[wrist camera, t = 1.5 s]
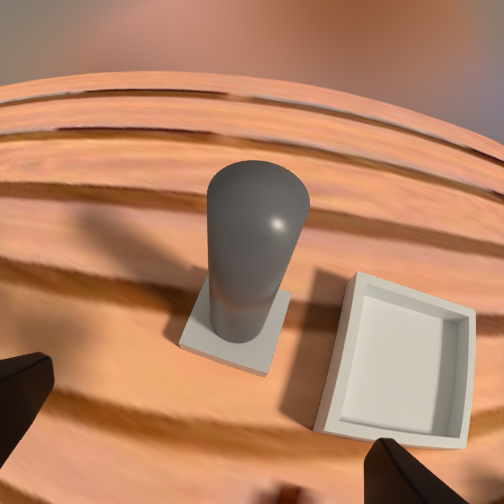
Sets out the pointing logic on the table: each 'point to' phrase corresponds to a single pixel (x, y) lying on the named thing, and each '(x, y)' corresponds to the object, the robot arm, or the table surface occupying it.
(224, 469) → the table surface
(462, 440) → the tray
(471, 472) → the table surface
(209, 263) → the grey upright post
